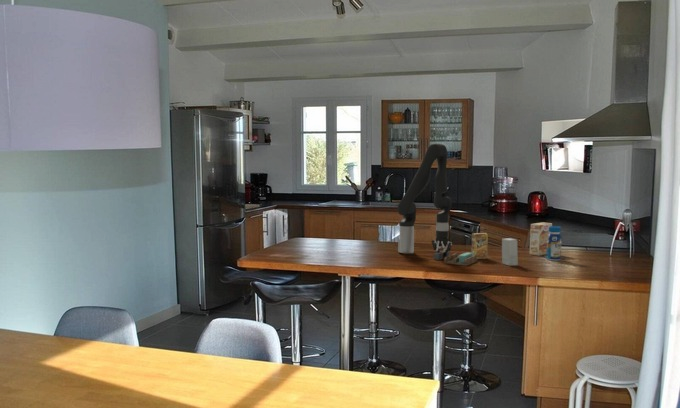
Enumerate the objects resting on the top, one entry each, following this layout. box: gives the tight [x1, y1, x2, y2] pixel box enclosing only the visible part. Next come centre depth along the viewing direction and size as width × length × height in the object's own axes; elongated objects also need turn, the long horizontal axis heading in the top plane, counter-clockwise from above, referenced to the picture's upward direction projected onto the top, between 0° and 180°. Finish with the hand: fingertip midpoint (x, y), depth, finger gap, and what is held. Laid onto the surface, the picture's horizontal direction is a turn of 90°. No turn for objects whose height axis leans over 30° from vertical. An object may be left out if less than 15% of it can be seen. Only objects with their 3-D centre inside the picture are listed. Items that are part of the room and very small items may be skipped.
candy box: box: [471, 232, 489, 260], centre depth 358 cm, size 9×4×15 cm, turn 107°
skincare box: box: [501, 237, 519, 266], centre depth 340 cm, size 8×6×15 cm
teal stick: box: [458, 251, 472, 263], centre depth 345 cm, size 12×4×4 cm, turn 147°
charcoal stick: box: [433, 250, 451, 261], centre depth 358 cm, size 12×4×4 cm, turn 137°
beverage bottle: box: [546, 225, 563, 262], centre depth 355 cm, size 8×8×20 cm
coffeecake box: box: [529, 221, 553, 257], centre depth 376 cm, size 15×7×20 cm, turn 131°
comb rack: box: [443, 252, 478, 267], centre depth 346 cm, size 18×14×4 cm
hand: (441, 257), depth 358 cm, fingers open, 4 cm apart
